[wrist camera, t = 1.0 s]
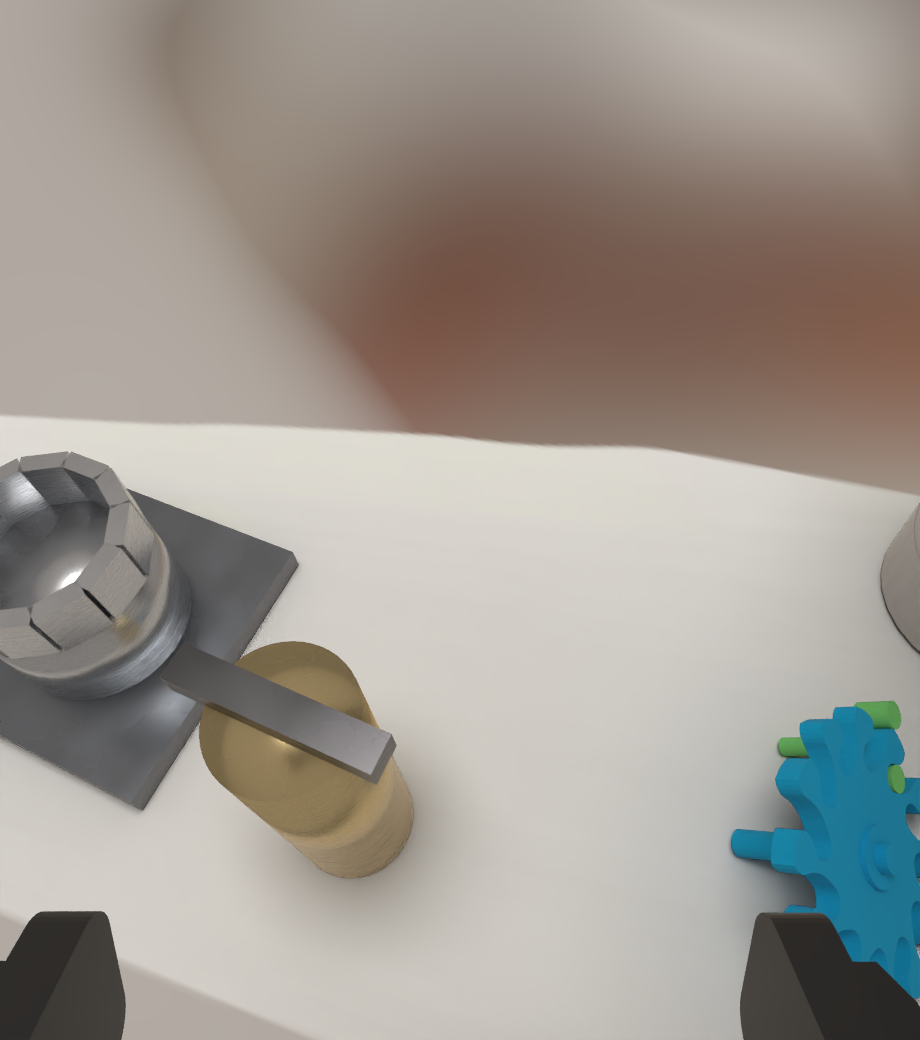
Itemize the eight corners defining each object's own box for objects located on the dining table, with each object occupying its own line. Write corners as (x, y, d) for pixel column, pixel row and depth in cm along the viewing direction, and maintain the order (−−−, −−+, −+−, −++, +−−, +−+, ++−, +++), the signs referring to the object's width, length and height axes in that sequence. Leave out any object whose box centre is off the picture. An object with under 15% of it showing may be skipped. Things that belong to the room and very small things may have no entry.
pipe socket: (96, 486, 44) (13, 378, 37) (298, 564, 40) (249, 461, 33) (-78, 695, 38) (-217, 614, 31) (142, 810, 34) (41, 748, 27)
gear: (940, 1090, 26) (782, 920, 23) (772, 1039, 30) (620, 891, 27) (976, 790, 32) (856, 624, 29) (832, 784, 37) (714, 640, 33)
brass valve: (312, 731, 36) (217, 592, 25) (456, 796, 34) (420, 676, 23) (254, 835, 33) (121, 733, 23) (404, 912, 31) (337, 840, 21)
